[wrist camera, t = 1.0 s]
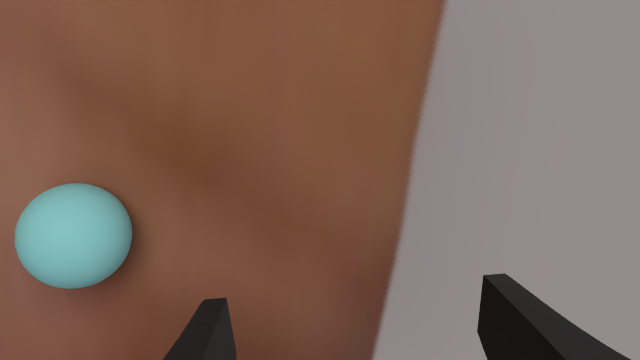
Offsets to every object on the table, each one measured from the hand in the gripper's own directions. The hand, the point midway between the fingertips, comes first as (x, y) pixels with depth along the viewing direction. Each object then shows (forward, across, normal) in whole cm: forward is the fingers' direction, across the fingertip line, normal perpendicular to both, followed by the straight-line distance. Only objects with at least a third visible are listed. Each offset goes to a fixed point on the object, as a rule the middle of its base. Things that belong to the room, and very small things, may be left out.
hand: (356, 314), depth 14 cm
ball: (+8, +10, 0) cm, 13 cm away
